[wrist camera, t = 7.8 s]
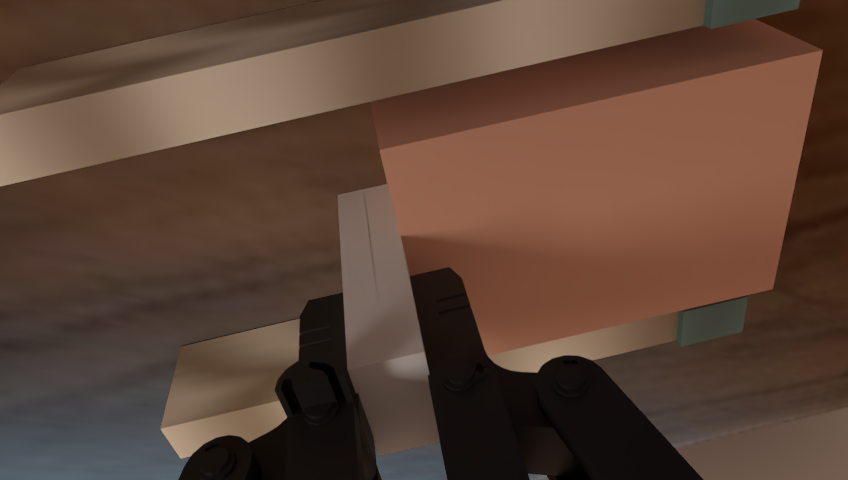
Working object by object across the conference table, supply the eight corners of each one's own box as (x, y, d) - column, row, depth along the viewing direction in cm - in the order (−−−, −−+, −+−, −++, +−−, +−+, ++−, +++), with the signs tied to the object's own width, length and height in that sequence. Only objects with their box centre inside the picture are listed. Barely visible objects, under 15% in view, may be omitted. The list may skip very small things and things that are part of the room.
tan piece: (197, 375, 22) (178, 466, 19) (19, 68, 15) (-55, 131, 12) (682, 261, 22) (742, 332, 19) (713, -89, 16) (811, -66, 13)
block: (411, 272, 21) (432, 368, 17) (365, 78, 17) (379, 149, 13) (693, 207, 21) (772, 288, 18) (714, 0, 17) (823, 49, 14)
